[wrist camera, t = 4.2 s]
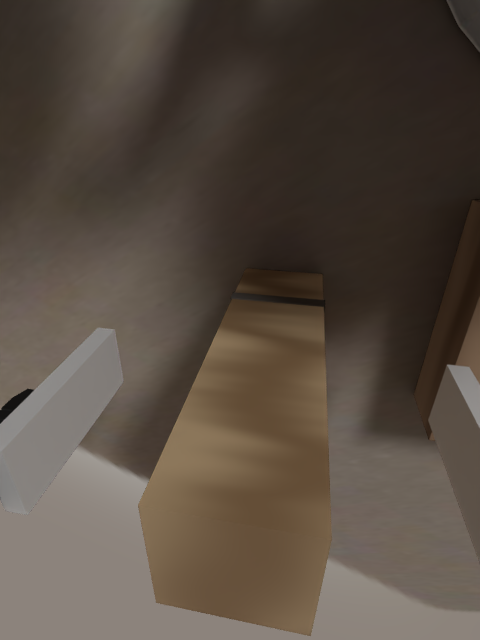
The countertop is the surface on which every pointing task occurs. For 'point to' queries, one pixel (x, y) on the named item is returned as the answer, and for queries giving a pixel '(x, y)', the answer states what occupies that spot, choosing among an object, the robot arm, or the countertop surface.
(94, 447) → the countertop surface
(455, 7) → the mug
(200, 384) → the peg
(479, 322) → the board
